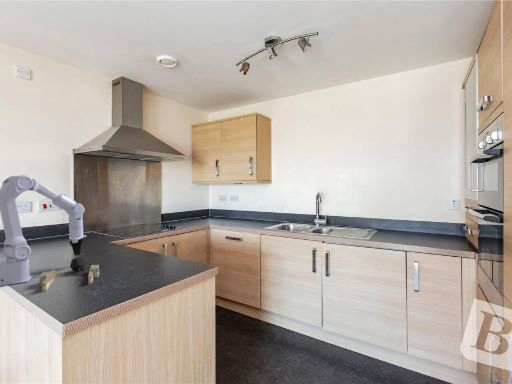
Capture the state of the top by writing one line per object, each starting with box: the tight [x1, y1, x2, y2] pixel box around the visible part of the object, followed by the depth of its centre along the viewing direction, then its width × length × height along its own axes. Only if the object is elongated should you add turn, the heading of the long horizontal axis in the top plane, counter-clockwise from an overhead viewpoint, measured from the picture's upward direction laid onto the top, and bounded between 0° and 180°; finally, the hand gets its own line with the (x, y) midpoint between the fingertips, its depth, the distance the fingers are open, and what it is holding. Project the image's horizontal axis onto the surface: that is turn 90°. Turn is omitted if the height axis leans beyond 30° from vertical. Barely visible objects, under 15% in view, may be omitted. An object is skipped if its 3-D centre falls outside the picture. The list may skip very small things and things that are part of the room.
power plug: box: [69, 257, 87, 276], centre depth 123 cm, size 6×8×12 cm
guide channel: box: [39, 264, 100, 293], centre depth 112 cm, size 20×18×4 cm
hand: (77, 254), depth 133 cm, fingers closed
